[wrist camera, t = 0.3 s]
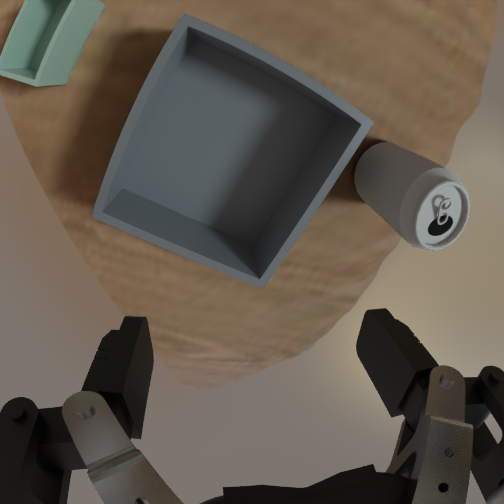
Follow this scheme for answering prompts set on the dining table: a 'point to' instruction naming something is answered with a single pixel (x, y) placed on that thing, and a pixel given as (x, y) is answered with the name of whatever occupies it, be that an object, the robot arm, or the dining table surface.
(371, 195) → the can
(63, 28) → the small crate
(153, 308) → the dining table surface
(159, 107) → the big crate
